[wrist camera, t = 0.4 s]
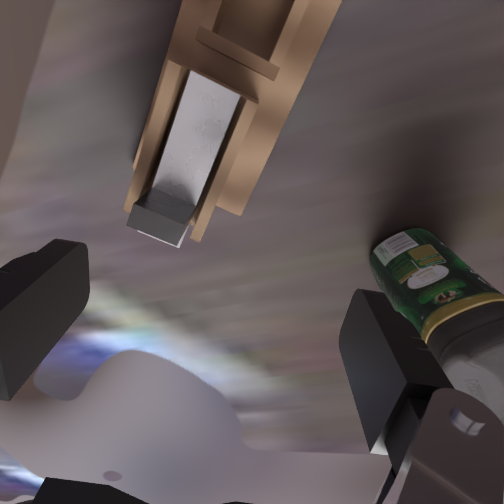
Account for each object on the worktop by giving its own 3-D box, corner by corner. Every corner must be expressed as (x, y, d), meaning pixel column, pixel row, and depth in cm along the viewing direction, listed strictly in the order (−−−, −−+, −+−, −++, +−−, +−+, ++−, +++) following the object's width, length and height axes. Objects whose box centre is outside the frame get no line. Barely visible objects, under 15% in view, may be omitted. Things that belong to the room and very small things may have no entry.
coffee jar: (453, 280, 40) (594, 416, 23) (389, 308, 42) (477, 453, 25) (426, 213, 36) (569, 317, 20) (358, 247, 38) (435, 368, 21)
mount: (211, -86, 26) (178, -209, 16) (344, -8, 28) (396, -69, 17) (135, 166, 35) (80, 199, 24) (241, 213, 37) (233, 262, 26)
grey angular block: (195, 71, 22) (176, 65, 17) (241, 95, 23) (236, 95, 18) (143, 223, 27) (117, 253, 22) (183, 240, 28) (166, 272, 23)
